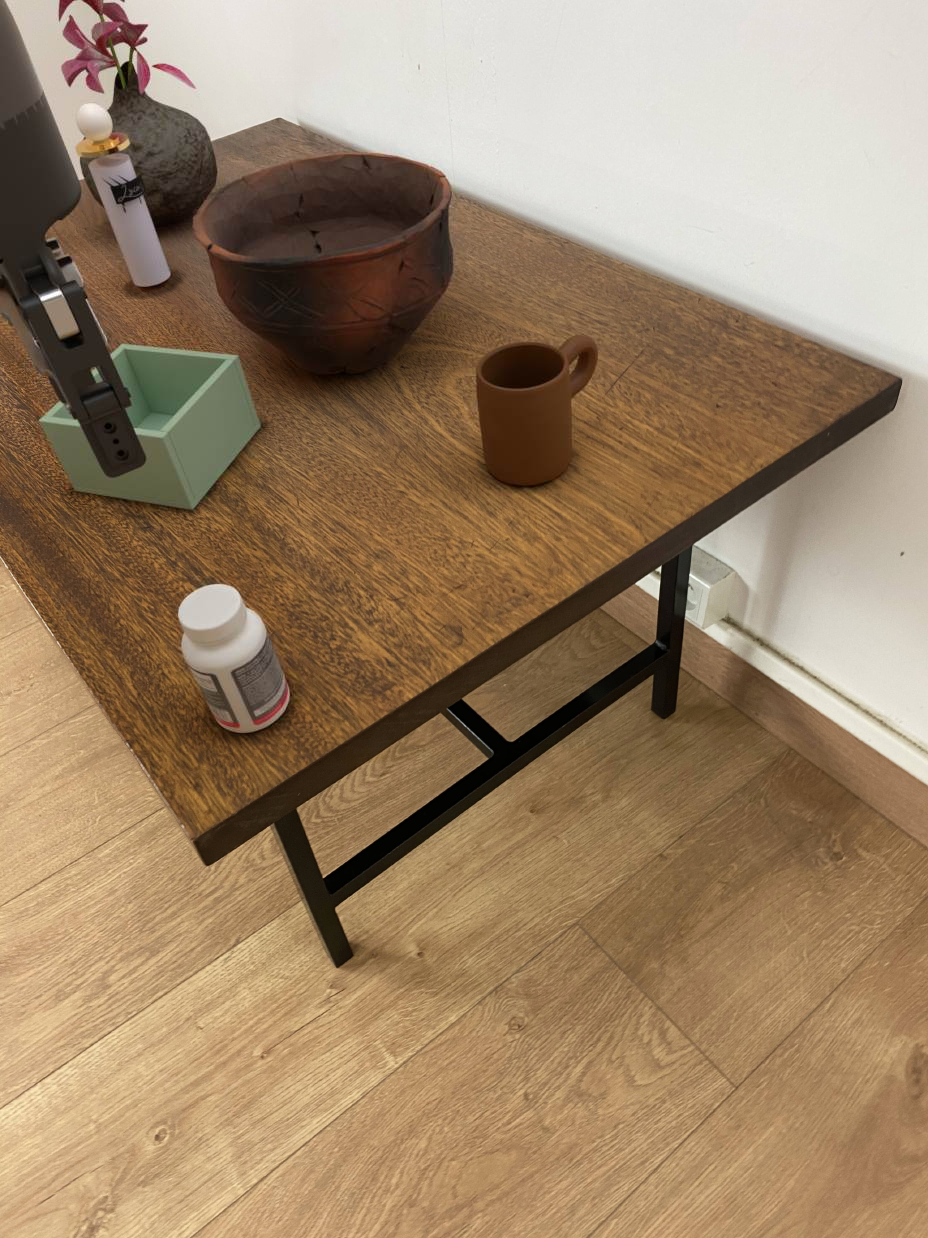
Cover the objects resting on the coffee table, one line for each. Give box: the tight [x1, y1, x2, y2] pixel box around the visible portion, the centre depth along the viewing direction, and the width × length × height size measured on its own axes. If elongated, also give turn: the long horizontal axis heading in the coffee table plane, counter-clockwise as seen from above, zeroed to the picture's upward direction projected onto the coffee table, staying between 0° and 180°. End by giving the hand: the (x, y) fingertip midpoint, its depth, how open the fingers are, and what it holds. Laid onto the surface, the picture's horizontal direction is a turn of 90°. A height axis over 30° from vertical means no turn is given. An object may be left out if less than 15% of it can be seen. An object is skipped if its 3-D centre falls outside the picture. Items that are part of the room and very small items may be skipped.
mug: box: [475, 333, 599, 486], centre depth 75 cm, size 12×8×9 cm, turn 130°
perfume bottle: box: [74, 102, 172, 288], centre depth 103 cm, size 6×6×20 cm
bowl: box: [192, 152, 454, 375], centre depth 90 cm, size 25×25×15 cm
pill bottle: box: [177, 583, 291, 734], centre depth 59 cm, size 5×5×10 cm
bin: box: [38, 343, 261, 511], centre depth 81 cm, size 13×13×8 cm
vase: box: [58, 0, 219, 230], centre depth 113 cm, size 17×17×30 cm
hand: (102, 431), depth 49 cm, fingers open, 8 cm apart
